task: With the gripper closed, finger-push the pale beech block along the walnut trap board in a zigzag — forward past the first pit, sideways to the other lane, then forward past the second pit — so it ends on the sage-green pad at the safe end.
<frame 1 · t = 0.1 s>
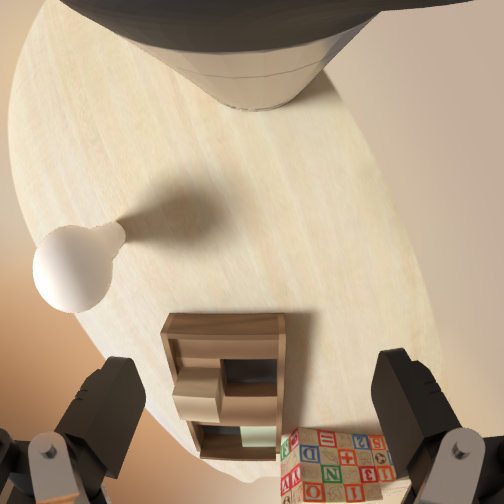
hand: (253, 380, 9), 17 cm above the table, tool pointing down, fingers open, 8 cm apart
beech block: (202, 381, 29), point 2 cm above the table, touching trap board
trap board: (233, 388, 32), on the table
lightbulb: (118, 231, 26), on the table
stack of blocks: (348, 442, 38), on the table
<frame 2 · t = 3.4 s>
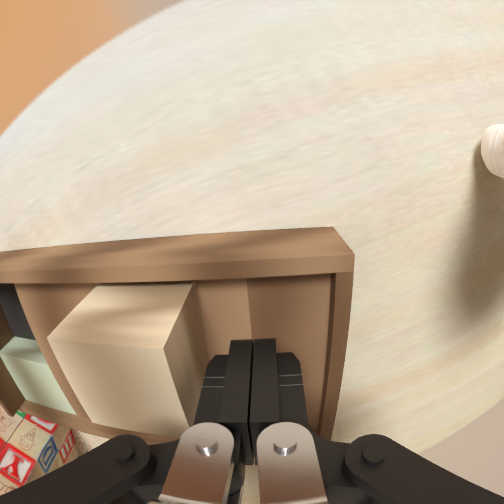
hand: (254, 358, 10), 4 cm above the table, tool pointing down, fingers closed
beech block: (155, 325, 11), point 3 cm above the table, touching trap board
trap board: (126, 339, 15), on the table
lightbulb: (485, 148, 11), on the table
stack of blocks: (58, 447, 22), on the table
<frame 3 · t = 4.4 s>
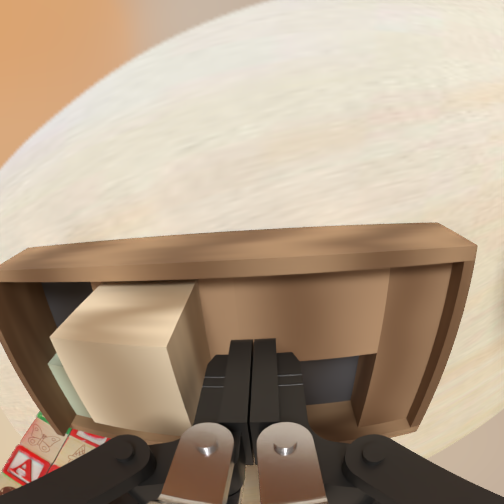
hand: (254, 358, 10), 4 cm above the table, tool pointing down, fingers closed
beech block: (157, 324, 12), point 2 cm above the table, touching trap board
trap board: (221, 340, 15), on the table
stack of blocks: (95, 459, 22), on the table
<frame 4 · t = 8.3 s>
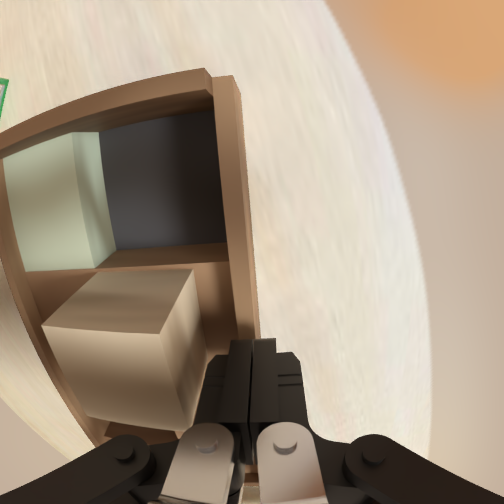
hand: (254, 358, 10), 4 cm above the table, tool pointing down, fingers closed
beech block: (152, 316, 11), point 2 cm above the table
trap board: (151, 333, 15), on the table
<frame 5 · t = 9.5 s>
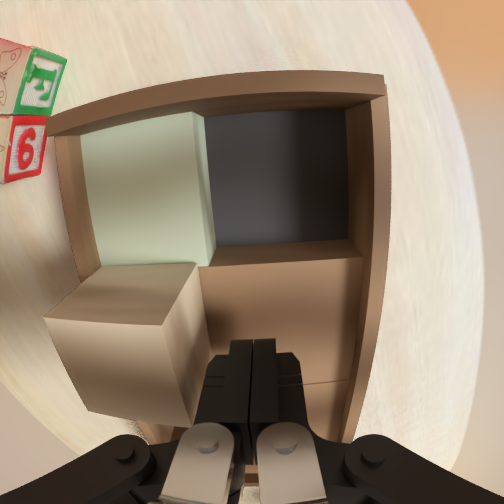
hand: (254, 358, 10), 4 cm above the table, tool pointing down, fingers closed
beech block: (156, 311, 11), point 2 cm above the table, touching gripper, trap board
trap board: (241, 334, 14), on the table
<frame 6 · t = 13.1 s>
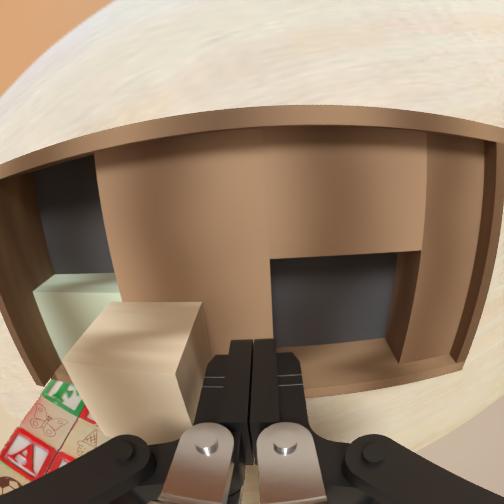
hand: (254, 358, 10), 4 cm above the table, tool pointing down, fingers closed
beech block: (163, 342, 12), point 2 cm above the table, touching gripper
trap board: (239, 252, 13), on the table
stack of blocks: (96, 446, 21), on the table
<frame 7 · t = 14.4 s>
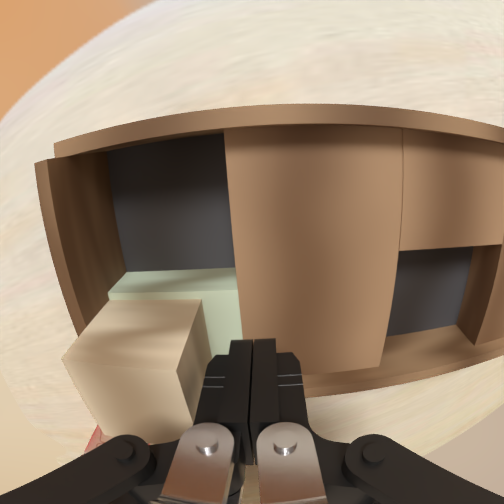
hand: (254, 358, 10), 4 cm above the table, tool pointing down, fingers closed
beech block: (162, 340, 12), point 2 cm above the table, touching gripper, trap board
trap board: (348, 245, 13), on the table
stack of blocks: (141, 458, 20), on the table
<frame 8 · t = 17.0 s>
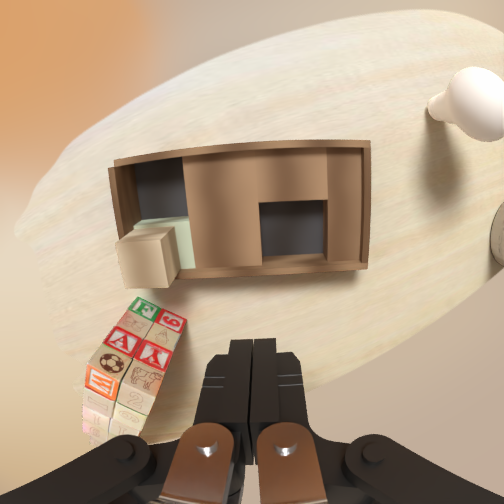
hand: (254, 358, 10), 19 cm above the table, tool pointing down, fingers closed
beech block: (157, 248, 26), point 2 cm above the table, touching trap board
trap board: (244, 204, 27), on the table
lightbulb: (432, 109, 23), on the table
stack of blocks: (141, 366, 35), on the table
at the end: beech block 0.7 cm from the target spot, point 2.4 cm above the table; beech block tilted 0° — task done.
